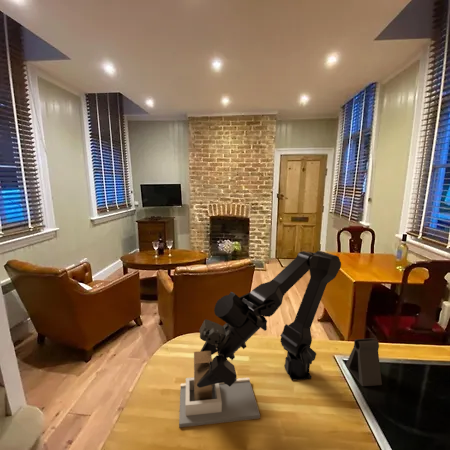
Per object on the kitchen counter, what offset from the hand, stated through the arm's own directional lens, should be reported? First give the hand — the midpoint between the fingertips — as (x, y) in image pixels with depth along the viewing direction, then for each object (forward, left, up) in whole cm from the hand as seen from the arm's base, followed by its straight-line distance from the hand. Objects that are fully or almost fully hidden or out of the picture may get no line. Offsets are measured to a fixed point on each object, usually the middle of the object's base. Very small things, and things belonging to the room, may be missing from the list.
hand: (197, 372), depth 68 cm
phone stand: (-51, -4, -9) cm, 52 cm away
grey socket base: (-5, 0, -9) cm, 11 cm away
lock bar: (-1, 0, -8) cm, 8 cm away
